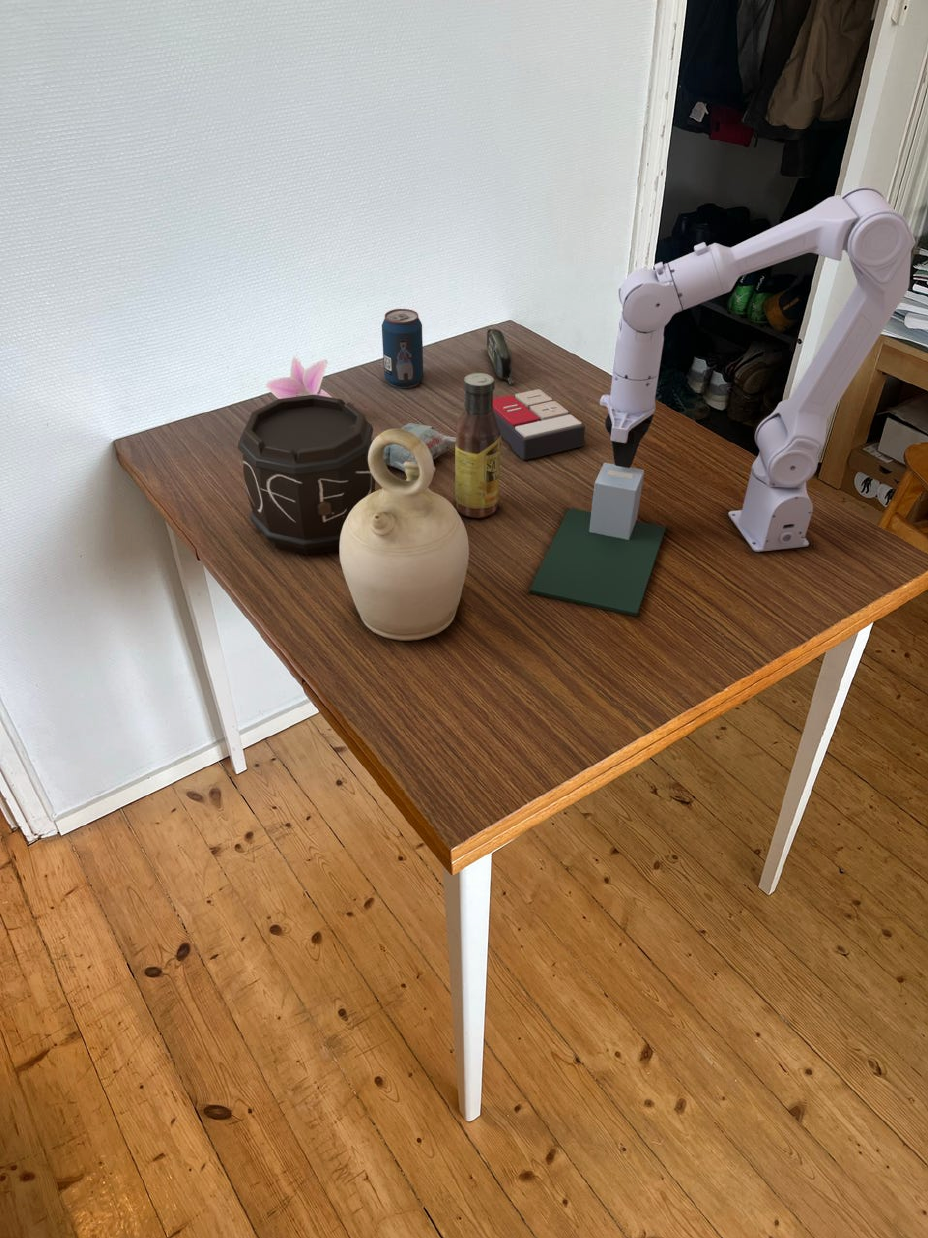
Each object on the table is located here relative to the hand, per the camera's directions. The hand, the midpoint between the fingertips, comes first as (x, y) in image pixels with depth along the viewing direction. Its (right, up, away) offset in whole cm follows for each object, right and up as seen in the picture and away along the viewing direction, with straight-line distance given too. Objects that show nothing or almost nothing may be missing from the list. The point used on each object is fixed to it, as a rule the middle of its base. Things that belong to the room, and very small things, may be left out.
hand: (623, 464), depth 125 cm
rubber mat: (-3, -13, -1) cm, 13 cm away
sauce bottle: (-20, -5, +9) cm, 22 cm away
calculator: (-10, +9, +26) cm, 29 cm away
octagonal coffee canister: (-42, -8, +6) cm, 43 cm away
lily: (-48, +12, +29) cm, 57 cm away
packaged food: (-29, +3, +18) cm, 35 cm away
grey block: (-1, -5, +2) cm, 5 cm away
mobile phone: (-15, +25, +44) cm, 52 cm away
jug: (-29, -20, -9) cm, 36 cm away
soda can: (-32, +21, +40) cm, 55 cm away
